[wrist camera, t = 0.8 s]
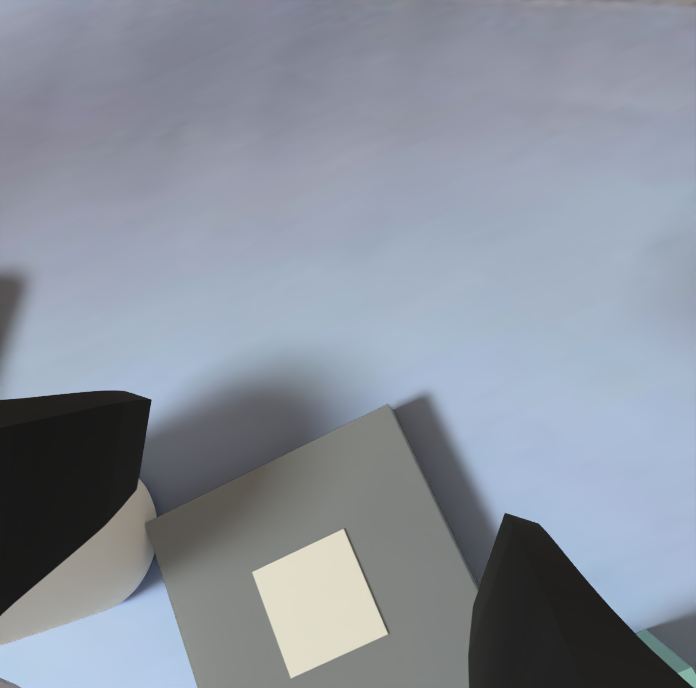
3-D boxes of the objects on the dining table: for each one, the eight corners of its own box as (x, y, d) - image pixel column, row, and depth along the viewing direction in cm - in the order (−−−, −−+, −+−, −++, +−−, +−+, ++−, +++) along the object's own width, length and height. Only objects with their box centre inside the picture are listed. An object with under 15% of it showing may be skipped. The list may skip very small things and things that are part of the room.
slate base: (524, 682, 27) (528, 698, 25) (256, 800, 28) (239, 823, 26) (393, 409, 31) (387, 403, 29) (164, 520, 32) (144, 522, 30)
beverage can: (11, 522, 34) (-221, 539, 23) (116, 431, 34) (-63, 403, 23) (77, 644, 32) (-147, 732, 20) (191, 546, 32) (31, 579, 20)
